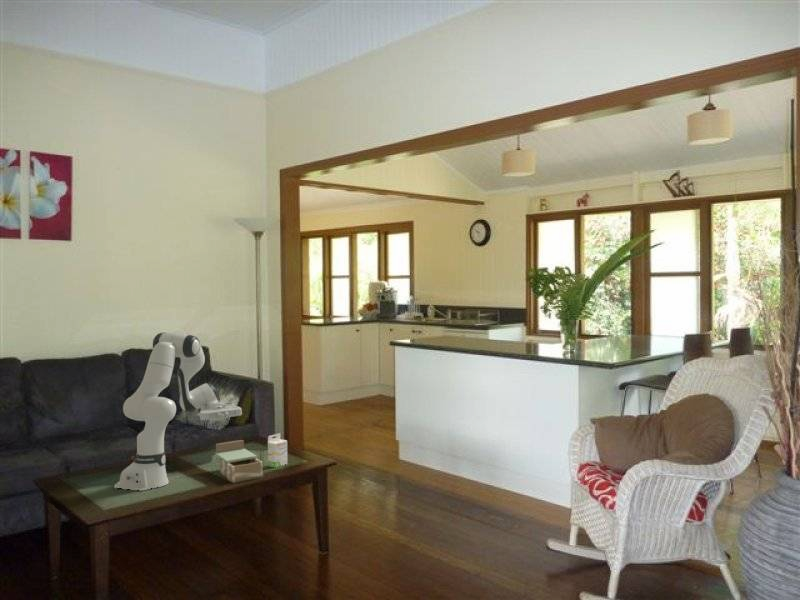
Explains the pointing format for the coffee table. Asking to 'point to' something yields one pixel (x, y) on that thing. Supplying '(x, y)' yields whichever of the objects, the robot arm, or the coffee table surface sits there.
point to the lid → (233, 451)
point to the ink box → (277, 451)
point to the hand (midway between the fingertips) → (225, 416)
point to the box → (242, 470)
